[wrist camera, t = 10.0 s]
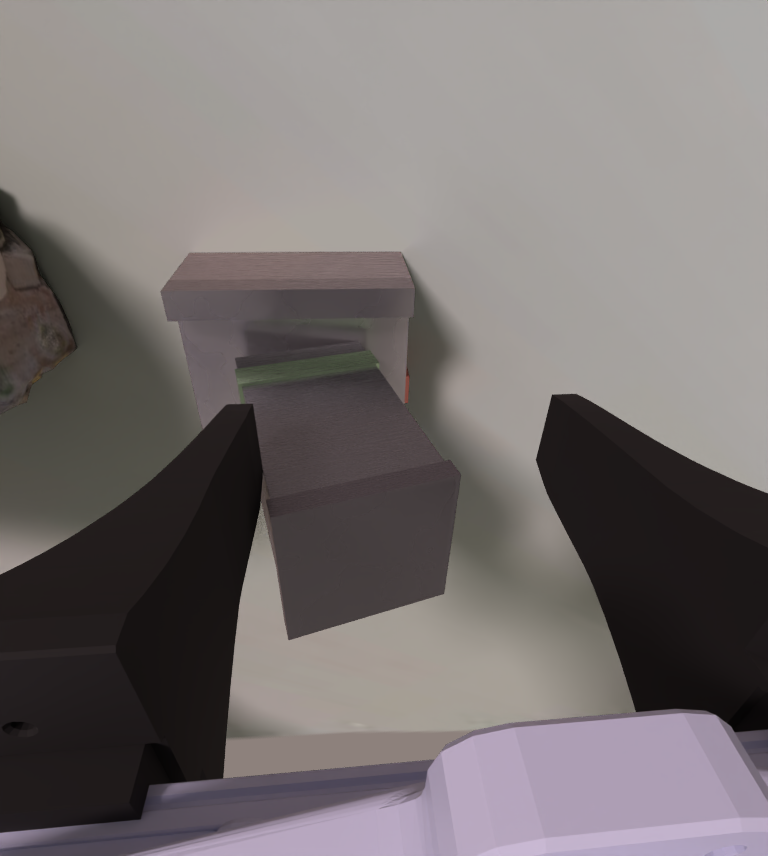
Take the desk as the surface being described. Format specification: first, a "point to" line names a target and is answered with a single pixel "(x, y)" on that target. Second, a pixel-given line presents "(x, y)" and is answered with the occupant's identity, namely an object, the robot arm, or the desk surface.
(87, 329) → the desk surface
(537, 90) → the desk surface
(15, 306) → the fossil rock
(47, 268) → the desk surface
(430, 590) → the grey rectangular block
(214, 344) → the stand block
